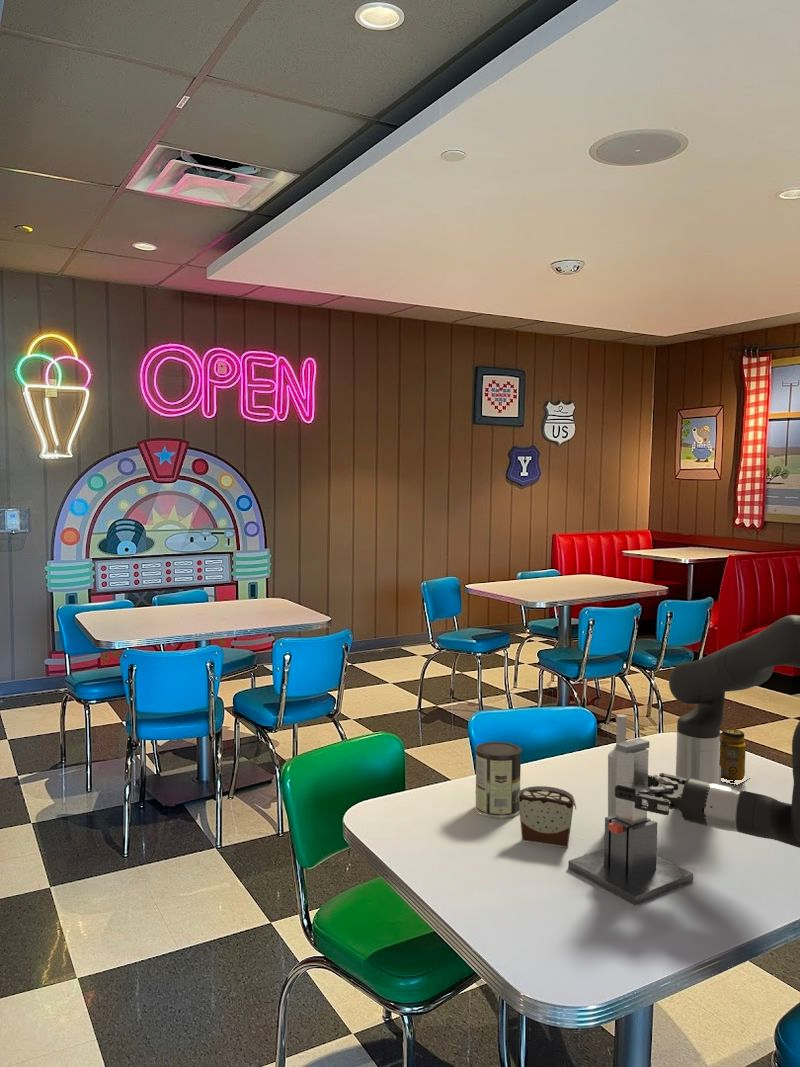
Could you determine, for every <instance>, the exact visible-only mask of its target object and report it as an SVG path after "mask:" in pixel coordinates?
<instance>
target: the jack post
mask: <svg viewBox="0 0 800 1067" xmlns="http://www.w3.org/2000/svg"><path fill="white" fill-rule="evenodd" d="M615 746H616V750H617V774H616V786H617V785H621V786H626V787H630V788H634V789H636V790H637V789H642V790H646V789H647V788H648V775H649V754H650V753H649V751H650V750H649V749H650V740H645V739H643V738H640V737H638V738H634V739H631V740H626V741H625V742H621V743H617V744H616V743H615ZM644 795H647V794H644ZM642 800H644V799H642ZM645 806H648V805H645ZM647 818H648V811H644V810H640V809H636V808H635V802H632V801H628V800H624V799H620V798H617V797H616V818H615V819H616V820H618V821H620V822H622V823H624V824H627V825H629V826H630V828H631V827H634V826H638V825H641V824H644V823H647Z"/></svg>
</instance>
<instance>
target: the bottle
mask: <svg viewBox="0 0 800 1067" xmlns="http://www.w3.org/2000/svg"><path fill="white" fill-rule="evenodd" d="M627 718H628V717H627V715H626V714H620V713H619V714H617V715H616V720H615V722H616V733H615V734H616V736H615V737H616V738H615V740H616V741H615V746H614V748H613V749H612V750H611V751H609V752H608V754H607V817H608V816H612V815H615V814H616V796H615V787H616V774H617V750H616V744H617V743H621V742H625V741H627V722H628V721H627Z"/></svg>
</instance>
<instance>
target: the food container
mask: <svg viewBox="0 0 800 1067" xmlns="http://www.w3.org/2000/svg"><path fill="white" fill-rule="evenodd" d="M517 801H519V812H520V813H519V820H520V821H519V822H520V823H519V824H520V832H521V842H526V843H533V844H540V845H541V844H542V845H545V846H546V845H547V846H553V847H559V848H569V843H570V835H571V828H572V818H573V813H574V812H573V811H574V809H575V811H577V805H576V801H575V798H574V795H573V794H572V793H571V792H569V791H566V790H564V789H561V788H558V787H554V786H547V785H546V786H544V785H538V786H537V785H536V786H535V785H534V786H527V787H525V788H522V789H520V791H519V792H518V795H517V797H516V802H517Z"/></svg>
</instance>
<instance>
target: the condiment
mask: <svg viewBox="0 0 800 1067" xmlns="http://www.w3.org/2000/svg"><path fill="white" fill-rule="evenodd" d="M746 746H747V745H746V743H745V733H744V731H742V730H740V729H736V728H725V729H724V728H723V729H722V731H721V736H720V752H719V765H720V766H721V778H724V779H727V780H733V781H735V780H742V779H743V778H744V776H746V775H745V773H746V752H747V751H746Z"/></svg>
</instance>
